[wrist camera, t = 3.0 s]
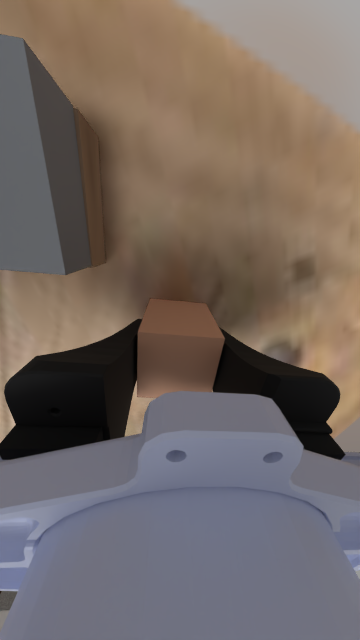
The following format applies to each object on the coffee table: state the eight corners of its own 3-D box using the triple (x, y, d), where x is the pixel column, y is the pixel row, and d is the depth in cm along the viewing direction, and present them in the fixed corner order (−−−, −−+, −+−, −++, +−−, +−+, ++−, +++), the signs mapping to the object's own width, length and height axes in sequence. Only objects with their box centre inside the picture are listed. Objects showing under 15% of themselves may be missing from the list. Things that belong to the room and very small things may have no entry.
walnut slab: (10, 251, 11) (-31, 254, 9) (-25, 120, 9) (-97, 77, 6) (108, 261, 12) (92, 267, 9) (101, 141, 9) (77, 109, 7)
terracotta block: (148, 345, 14) (137, 397, 9) (150, 298, 12) (137, 332, 8) (197, 349, 14) (209, 400, 10) (205, 303, 13) (224, 338, 8)
